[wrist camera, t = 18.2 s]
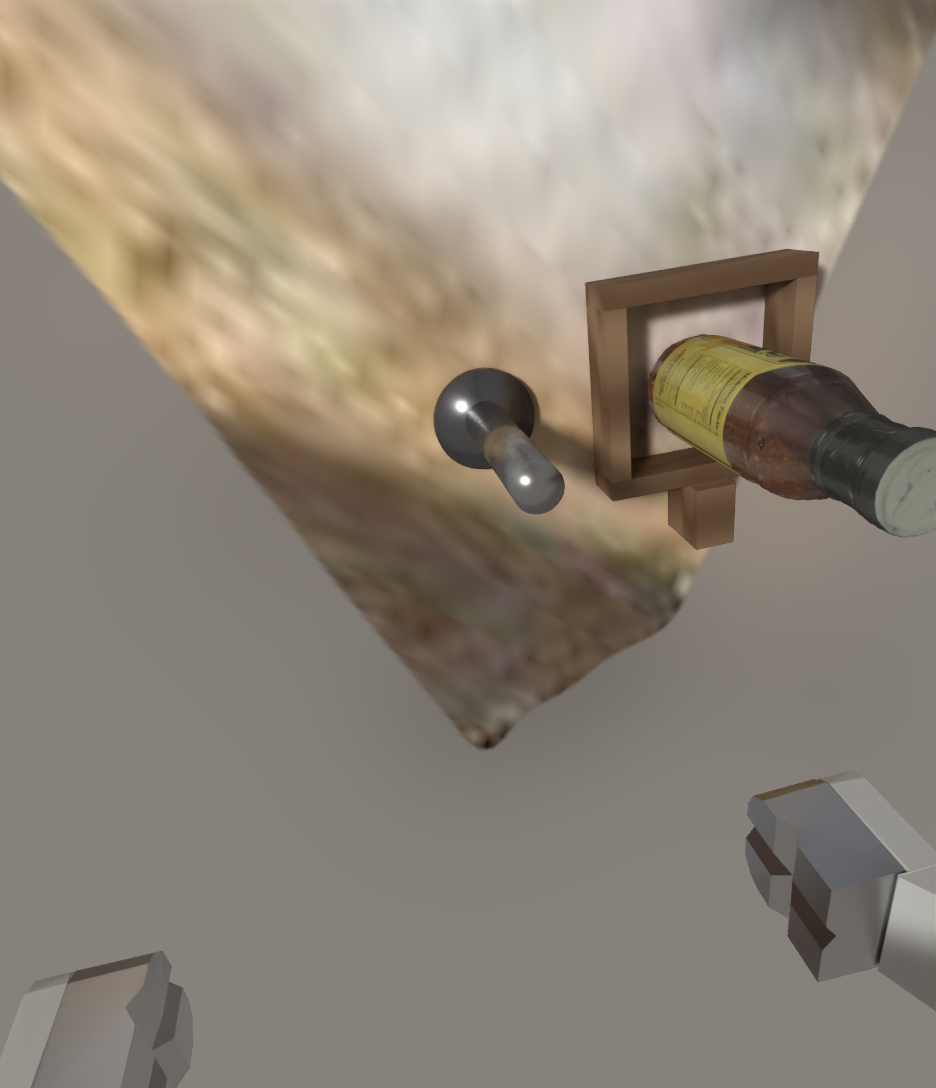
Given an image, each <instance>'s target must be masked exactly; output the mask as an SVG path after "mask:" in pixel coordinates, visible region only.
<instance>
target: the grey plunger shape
mask: <svg viewBox="0 0 936 1088" xmlns="http://www.w3.org/2000/svg"><path fill="white" fill-rule="evenodd" d="M533 425H534V408H533V403H532V400H531V398H530V395H529V393H528V392H527V390H526V389H525V387H524V386H523V385H522V384H521V383H520V382H519V381H518V380H517V379H515V378H514V377H513V376H511V375H510V374H508V373H506V372H504V371H502V370H498V369H494V368H477V369H473V370H469V371H467V372H464V373H462V374H461V375H459V376H457V377H456V378H454V379H453V380H452V381H451V382H450V383H449V384H448V385H447V386H446V387H445V388H444V390H443V391H442V393H441V394H440V396H439V398H438V401H437V403H436V406H435V411H434V429H435V433H436V436H437V439H438V441H439V443H440V445H441V446H442V448H443V450H444V451H445V452H446V454H447V455H448V456H449V457H450V458H452V459H453V460H454V461H456V462H457V463H459V464H461V465H463V466H466V467H469V468H474V469H489V468H493V470H494V471H495V473H496V474H497V476H498V477H499V479H500V480H501V482H502V483H503V485H504V486H505V488H506V489H507V491H508V492H509V494H510V495H511V497H512V498H513V500H514V501H515V503H516V504H517V506H518V507H519V508H520V509H521V510H523V511H525V512H527V513H530V514H542V513H546V512H548V511H550V510H551V509H553V508H554V507H555V506H556V505H557V504H558V503H559V502H560V500H561V499H562V497H563V494H564V489H565V483H564V479H563V477H562V475H561V473H560V472H559V471H558V470H557V469H556V468H555V466H554V465H553V464H552V463H551V462H550V461H549V460H548V459H547V458H546V457H545V455H544V454H543V453H542V452H541V451H540V450H539V449H538V448H537V447H536V446H535V444H534V443H533V442H532V441H531V440H530V439H529V438H530V436H531V433H532V430H533Z"/></svg>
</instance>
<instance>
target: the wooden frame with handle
mask: <svg viewBox="0 0 936 1088" xmlns="http://www.w3.org/2000/svg"><path fill="white" fill-rule="evenodd" d="M818 259H819V252H813V251H803V250H792V249H784V250H778V251H772V252H766V253H760V254H754V255H748V256H742V257H736V258H730V259H724V260H718V261H712V262H706V263H701V264H695V265H689V266H683V267H677V268H671V269H665V270H659V271H653V272H647V273H641V274H635V275H629V276H623V277H617V278H611V279H605V280H599V281H593V282H587V283H585V286H586V305H587V324H588V343H589V361H590V380H591V399H592V418H593V436H594V455H595V474H596V485H597V486H598V487H599V488H600V489H601V490H602V491H603V492H604V493H605V494H606V495H607V496H608V497H609V498H610V499H611V500H612V501H618V500H623V499H628V498H632V497H637V496H642V495H647V494H652V493H657V492H662V491H667V490H668V525H670V526H671V527H672V528H673V529H674V530H675V531H676V532H677V533H678V534H679V535H681V536H682V537H683V538H684V539H685V540H686V541H687V542H688V543H689V544H690V545H692V546H693V547H694V548H695V549H696V550H698V549H703V548H707V547H712V546H717V545H721V544H726V543H730V542H733V539H734V515H735V493H736V483H734V482H733V481H731V480H730V479H728V478H730V477H735V476H740V475H738V474H736V473H735V472H733V471H731V470H730V469H728V468H727V467H725V466H724V465H722V464H720V463H719V462H717V461H716V460H714V459H712V458H711V457H709V456H707V455H706V454H704V453H702V452H701V451H699V450H698V449H696V448H695V447H693V448H688V449H683V450H678V451H673V452H668V453H663V454H658V455H652V456H647V457H642V458H637V459H632V460H631V446H630V411H629V377H628V342H627V308H630V307H635V306H641V305H647V304H653V303H659V302H664V301H670V300H676V299H682V298H687V297H693V296H699V295H705V294H711V293H716V292H722V291H728V290H734V289H740V288H745V287H751V286H757V285H763V284H766V298H765V316H764V334H763V348H765V349H768V350H771V351H773V352H777V353H780V354H784V355H787V356H790V357H794V358H798V359H801V360H805V361H808V362H810V351H811V340H812V328H813V317H814V305H815V294H816V282H817V271H818Z"/></svg>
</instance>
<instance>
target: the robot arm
mask: <svg viewBox="0 0 936 1088" xmlns="http://www.w3.org/2000/svg"><path fill="white" fill-rule="evenodd" d="M747 816H748V817H749V819H750V820H751V822H752V823H753V824H754V826H755V827H754V828H753V830H751V832H750V833H749V834H748V836H747V837H746V858H747V862H748V866H749V870H750V873H751V875H752V878H753V880H754V882H755V884H756V887H757V888H758V891H759V892H760V894H761V895H762V897H763V898H764V900H765V902H766V903H767V905H768V906H769V907H770V908H772V909H774V910H775V911H777V912H779V913H780V914H782V915H784V916H786V917H788V937H789V939H790V941H791V942H792V944H793V945H794V947H795V948H796V950H797V951H798V953H799V954H800V956H801V957H802V959H803V961H804V962H805V963H806V965H807V967H808V968H809V970H810V971H811V973H812V974H813V976H814V977H815V979H816V980H817V982H821V981H825V980H829V979H833V978H836V977H840V976H844V975H848V974H852V973H856V972H860V971H864V970H868V969H871V968H875V967H879V968H878V971H879V972H881V973H882V974H883V975H885V976H886V977H888V978H889V979H891V980H892V981H893V982H895V983H897V984H898V985H899V986H901V987H902V988H903V989H905V990H906V991H908V992H909V993H911V994H912V995H913V996H915V997H916V998H918V999H919V1000H921V1001H922V1002H923V1003H925V1004H926V1005H928V1006H929V1007H931V1008H932V1009H933V1010H935V1011H936V852H935V850H934V849H933V848H931V846H930V845H929V844H928V843H927V842H926V841H925V840H924V839H923V838H922V837H921V836H920V835H919V834H918V833H917V832H916V831H915V830H914V829H913V828H912V827H911V826H910V825H909V824H908V823H907V822H906V821H905V820H904V819H903V818H902V817H901V815H900V814H899V813H898V812H897V811H896V810H895V809H894V808H893V807H892V806H891V805H890V804H889V803H888V802H887V801H886V800H885V799H884V798H883V797H882V796H881V795H880V794H879V793H878V792H877V791H876V790H875V789H874V788H873V787H872V786H871V785H870V784H869V783H868V782H867V781H866V779H865V778H864V777H863V776H862V775H860V774H858V773H856V772H854V771H847V772H843V773H839V774H836V775H831V776H828V777H824V778H820V779H818V780H815V779H813V780H809V781H805V782H802V783H799V784H795V785H791V786H787V787H784V788H780V789H777V790H773V791H769V792H766V793H762V794H758V795H755V796H753V797H752V798H751V799H750V801H749V802H748V813H747ZM170 972H171V965H170V963H169V961H168V960H167V958H166V956H165V954H164V953H163V951H159V952H155V953H151V954H146V955H142V956H138V957H133V958H129V959H125V960H120V961H116V962H112V963H107V964H103V965H99V966H95V967H91V968H86V969H81V970H77V971H73V972H69V973H66V974H61V975H57V976H53V977H49V978H45V979H41V980H37V981H35V982H34V983H33V985H32V986H31V987H30V988H29V990H28V991H27V992H26V994H25V995H24V997H23V999H22V1002H21V1004H20V1007H19V1010H18V1012H17V1015H16V1018H15V1020H14V1023H13V1026H12V1028H11V1031H10V1034H9V1036H8V1039H7V1042H6V1044H5V1047H4V1050H3V1052H2V1055H1V1058H0V1088H176V1087H177V1086H178V1084H179V1082H180V1081H181V1080H182V1078H183V1077H184V1075H185V1074H186V1072H187V1071H188V1069H189V1068H190V1061H191V1054H192V1046H193V1024H192V1023H193V1022H192V1013H191V1009H190V1004H189V1000H188V998H187V996H186V994H185V992H184V989H183V988H182V987H180V986H178V985H175V984H173V983H171V982H169V978H170Z"/></svg>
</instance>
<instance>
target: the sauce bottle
mask: <svg viewBox="0 0 936 1088" xmlns="http://www.w3.org/2000/svg"><path fill="white" fill-rule="evenodd" d="M647 394H648V401H649V403H650V406H651V409H652V411H653V413H654V414H655V417H656V419H657V420H658V422H660V423H661V424H662V425H663V426H665V427H667V429H668V430H669V431H670V432H671V433H673V434H674V435H676V436H677V437H679V438H680V439H682V440H683V441H685V442H687V443H688V444H690V445H691V446H693V447H695V448H696V449H698V450H699V451H701V452H702V453H704V454H706V455H707V456H709V457H711V458H712V459H714V460H716V461H717V462H719V463H720V464H722V465H724V466H725V467H727V468H728V469H730V470H731V471H733V472H735V473H736V474H738V475H740V476H741V477H743V478H745V479H746V480H748V481H751V482H753V483H756V484H759V485H760V486H761V487H762V488H764V489H766V490H768V491H769V492H771V493H774V494H776V495H778V496H781V497H784V498H788V499H794V500H802V499H803V500H813V499H819V500H821V499H827V498H831V499H834V500H838V501H841V502H843V503H845V504H847V505H849V506H850V507H852V508H853V509H854V510H856V511H857V512H858V513H859V514H860V515H861V516H863V517H864V518H865V519H866V520H867V521H868V522H870V523H871V524H873V525H875V526H877V527H878V528H879V529H882V530H884V531H886V532H887V533H889V534H891V535H894V536H898V537H909V536H918V535H922V534H926V533H928V532H930V531H932V530H934V529H936V431H935V430H932V429H927V428H922V427H911V428H909V427H907V426H905V425H902V424H899V423H895V422H892V421H891V420H890V419H888V418H887V417H886V416H884V415H881V414H879V413H878V412H877V411H876V410H875V408H874V407H873V406H872V405H871V404H870V403H869V401H868V400H867V399H866V398H865V397H864V395H863V394H862V393H861V392H860V391H859V389H858V388H857V387H856V385H855V384H854V383H853V382H852V381H851V380H850V379H849V377H847V376H846V375H844V374H843V373H841V372H839V371H837V370H835V369H832V368H829V367H825V366H823V365H820V364H816V363H812V362H808V361H805V360H801V359H798V358H794V357H790V356H787V355H784V354H780V353H777V352H773V351H771V350H768V349H765V348H760V347H757V346H754V345H750V344H747V343H744V342H740V341H737V340H733V339H730V338H726V337H723V336H717V335H705V334H701V335H699V336H694V337H689V338H686V339H683V340H682V341H679V342H677V343H675V344H673V345H671V346H670V347H669V348H667V349H666V350H665V351H664V352H663V354H662V355H661V356H660V358H659V359H658V361H657V362H656V364H655V366H654V368H653V370H652V372H651V374H650V378H649V380H648V383H647Z"/></svg>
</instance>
